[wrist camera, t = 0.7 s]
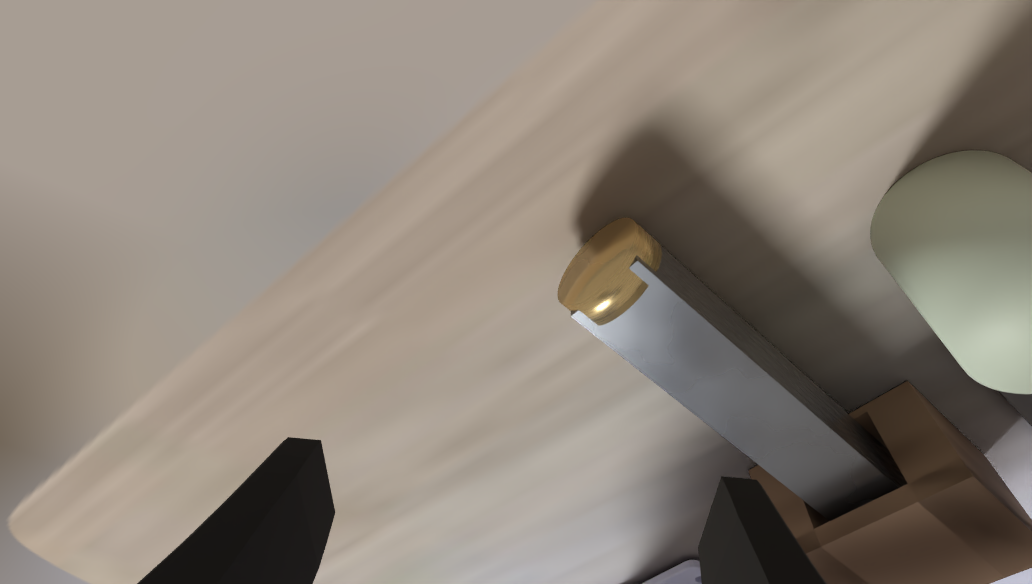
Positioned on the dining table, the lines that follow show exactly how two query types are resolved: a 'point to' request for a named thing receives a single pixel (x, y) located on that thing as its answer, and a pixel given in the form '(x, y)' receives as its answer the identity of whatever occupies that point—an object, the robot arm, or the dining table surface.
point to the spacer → (966, 259)
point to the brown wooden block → (915, 508)
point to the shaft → (723, 370)
